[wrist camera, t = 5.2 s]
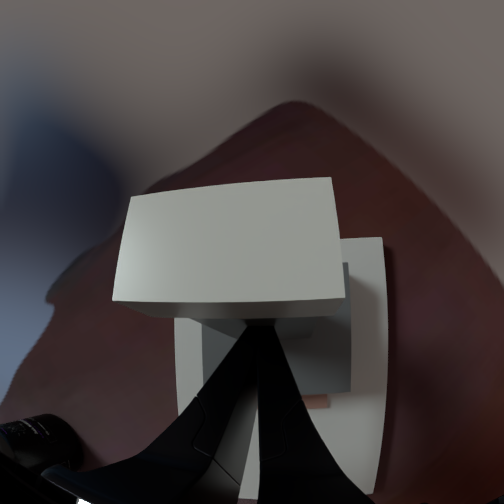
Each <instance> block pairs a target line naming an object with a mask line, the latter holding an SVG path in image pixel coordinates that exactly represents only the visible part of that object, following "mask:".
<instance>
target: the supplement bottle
mask: <svg viewBox="0 0 504 504" xmlns="http://www.w3.org/2000/svg"><path fill="white" fill-rule="evenodd" d="M0 451H1V452H2V453H4V454H5V455H7V456H8V457H10V458H11V459H13V460H15V461H16V462H18V463H19V464H21V465H23V466H24V467H26V468H28V469H29V470H31V471H33V472H34V473H36V474H38V475H39V476H41V473H42V472H43V471H44V470H45V469H47V468H49V467H51V466H53V465H56V464H60V465H62V466H64V467H66V468H68V469H70V470H72V471H75V472H76V471H77V470H79V469H80V468H81V466H82V463H83V454H82V450H81V447H80V444H79V442H78V440H77V438H76V436H75V435H74V433H73V431H72V430H71V429H70V428H69V426H68V425H67V424H66V423H65V422H64V421H63V420H61V419H60V418H59V417H57V416H55V415H53V414H42V415H38V416H34V417H30V418H26V419H22V420H17V421H13V422H8V423H4V424H0ZM41 477H42V476H41Z"/></svg>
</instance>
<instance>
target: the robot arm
mask: <svg viewBox="0 0 504 504" xmlns="http://www.w3.org/2000/svg"><path fill="white" fill-rule="evenodd" d="M257 406H258V432H259V462H260V464H259V466H260V475H259V490H258V500H257V504H375V503H374V502H373V501H372V500H371V499H370V498H369V497H368V496H367V495H366V494H365V493H364V492H362V491H361V490H360V489H359V488H358V487H357V486H356V485H355V484H354V483H353V482H352V481H351V480H350V479H349V478H348V477H347V476H346V475H345V473H344V472H343V471H342V469H341V468H340V467H339V465H338V464H337V462H336V461H335V459H334V458H333V456H332V454H331V453H330V451H329V449H328V448H327V446H326V445H325V443H324V441H323V440H322V438H321V436H320V435H319V433H318V431H317V429H316V427H315V426H314V424H313V422H312V420H311V418H310V415H309V413H308V411H307V408H306V406H305V403H304V401H303V400H302V396H301V394H300V391H299V388H298V386H297V383H296V381H295V378H294V376H293V373H292V371H291V368H290V366H289V363H288V361H287V358H286V355H285V353H284V350H283V348H282V345H281V343H280V340H279V338H278V335H277V332H276V330H275V327H274V326H261V327H260V326H247V327H246V329H245V330H244V331H243V333H242V334H241V335H240V337H239V338H238V340H237V341H236V342H235V344H234V345H233V346H232V348H231V349H230V351H229V352H228V353H227V355H226V356H225V357H224V359H223V360H222V361H221V363H220V364H219V365H218V367H217V368H216V369H215V371H214V372H213V373H212V375H211V376H210V377H209V379H208V380H207V381H206V383H205V384H204V385H203V387H202V388H201V389H200V391H199V392H198V393H197V396H195V397H194V398H193V400H192V401H191V402H190V404H189V405H188V406H187V407H186V408H185V410H184V411H183V412H182V413H181V414H180V415H179V416H178V418H177V419H176V420H175V421H174V422H173V423H172V424H171V425H170V426H169V427H168V428H167V429H166V430H165V431H164V432H163V433H162V434H160V435H159V436H158V437H157V438H156V439H155V440H154V441H153V442H152V443H151V444H150V445H149V446H148V447H147V448H146V449H144V450H143V451H142V452H140V453H139V454H137V455H135V456H133V457H131V458H128V459H125V460H122V461H119V462H116V463H113V464H110V465H107V466H104V467H101V468H98V469H94V470H91V471H86V472H75V471H72V470H70V469H68V468H66V467H64V466H62V465H60V464H56V465H53V466H51V467H49V468H47V469H45V470H44V471H43V472H42V473H41V476H42V477H41V476H39V475H38V474H36V473H34V472H33V471H31V470H29V469H28V468H26V467H24V466H23V465H21V464H19V463H18V462H16V461H15V460H13V459H11V458H10V457H8V456H7V455H5V454H4V453H2V452H1V451H0V504H237V502H238V497H239V493H240V488H241V487H240V486H241V484H242V479H243V475H244V470H245V465H246V461H247V456H248V451H249V446H250V441H251V437H252V432H253V427H254V422H255V417H256V411H257ZM421 504H428V503H421ZM486 504H504V495H502V496H500V497H498V498H496V499H494V500H492V501H490V502H488V503H486Z"/></svg>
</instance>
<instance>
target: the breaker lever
mask: <svg viewBox="0 0 504 504" xmlns="http://www.w3.org/2000/svg"><path fill="white" fill-rule="evenodd" d="M344 299H345V287H344V275H343V264H342V255H341V245H340V237H339V229H338V221H337V214H336V206H335V200H334V193H333V187H332V181H331V177H325V178H303V179H286V180H272V181H259V182H247V183H236V184H226V185H216V186H207V187H198V188H190V189H182V190H175V191H167V192H160V193H153V194H147V195H140V196H134V197H131V201H130V205H129V209H128V214H127V218H126V223H125V227H124V232H123V237H122V242H121V247H120V253H119V258H118V264H117V270H116V277H115V283H114V290H113V298H112V301H114V302H117V303H119V304H121V305H124V306H126V307H128V308H131V309H133V310H136V311H138V312H141V313H143V314H146V315H148V316H151V317H166V318H190V319H192V320H194V321H196V322H199V323H201V324H203V325H205V326H207V327H210V328H212V329H214V330H216V331H219V332H221V333H223V334H226V335H228V336H230V337H233V338H235V339H238V338H239V337H240V335H241V334H242V333H243V331H244V330H245V329H246V327H247V326H260V327H261V326H274V327H275V330H276V332H277V335H278V338H279V339H301V338H311V335H312V333H313V330H314V327H315V324H316V322H317V319H318V316H333V315H335V313H336V311H337V310H338V308H339V307H340V305H341V304H342V302H343V301H344Z"/></svg>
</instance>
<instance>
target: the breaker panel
mask: <svg viewBox="0 0 504 504" xmlns="http://www.w3.org/2000/svg"><path fill="white" fill-rule="evenodd" d="M340 245H341V255H342V264H343V275H344V287H345V299H344V301H343V302H342V304H341V305H340V307H339V308H338V310H337V311H336V313H335V315H333V316H318V319H317V322H316V324H315V327H314V330H313V333H312V335H311V338H301V339H279V340H280V343H281V345H282V348H283V350H284V353H285V355H286V358H287V361H288V363H289V366H290V368H291V371H292V373H293V376H294V378H295V381H296V383H297V386H298V388H299V391H300V394H301V396H302V400H303V401H304V403H305V406H306V408H307V411H308V413H309V415H310V418H311V420H312V422H313V424H314V426H315V427H316V429H317V431H318V433H319V435H320V436H321V438H322V440H323V441H324V443H325V445H326V446H327V448H328V449H329V451H330V453H331V454H332V456H333V458H334V459H335V461H336V462H337V464H338V465H339V467H340V468H341V469H342V471H343V472H344V473H345V475H346V476H347V477H348V478H349V479H350V480H351V481H352V482H353V483H354V484H355V485H356V486H357V487H358V488H359V489H360V490H361V491H362V492H364V493H365V494H373V491H374V486H375V481H376V475H377V470H378V464H379V457H380V451H381V443H382V436H383V427H384V417H385V406H386V392H387V371H388V311H387V290H386V275H385V263H384V252H383V243H382V237H373V238H352V239H340ZM174 321H175V362H176V383H177V400H178V413H179V415H180V414H181V413H182V412H183V411H184V410H185V408H186V407H187V406H188V405H189V404H190V402H191V401H192V400H193V398H194V397H195V396H197V393H198V392H199V391H200V389H201V388H202V387H203V385H204V384H205V383H206V381H207V380H208V379H209V377H210V376H211V375H212V373H213V372H214V371H215V369H216V368H217V367H218V365H219V364H220V363H221V361H222V360H223V359H224V357H225V356H226V355H227V353H228V352H229V351H230V349H231V348H232V346H233V345H234V344H235V342H236V341H237V340H238V339H235V338H233V337H230V336H228V335H226V334H223V333H221V332H219V331H216V330H214V329H212V328H210V327H207V326H205V325H203V324H201V323H199V322H196V321H194V320H192V319H190V318H174ZM259 464H260V462H259V432H258V406H257V411H256V417H255V422H254V427H253V432H252V437H251V441H250V446H249V451H248V456H247V461H246V465H245V470H244V475H243V479H242V484H241V486H240V487H241V488H240V493H239V497H238V498H246V499H258V490H259V475H260V466H259Z"/></svg>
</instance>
